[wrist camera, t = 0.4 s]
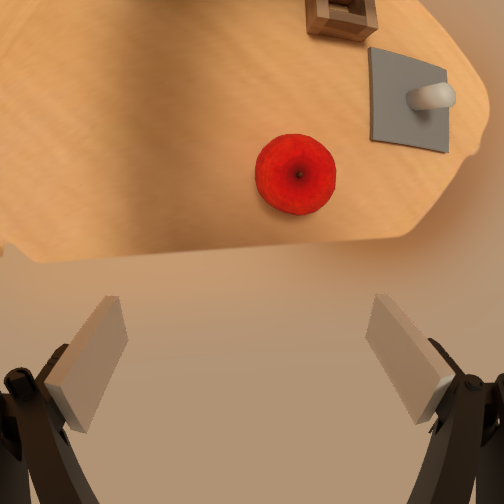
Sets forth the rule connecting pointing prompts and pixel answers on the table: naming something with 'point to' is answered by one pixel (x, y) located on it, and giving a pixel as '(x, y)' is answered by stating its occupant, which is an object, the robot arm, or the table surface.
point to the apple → (295, 174)
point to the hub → (341, 19)
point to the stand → (409, 101)
